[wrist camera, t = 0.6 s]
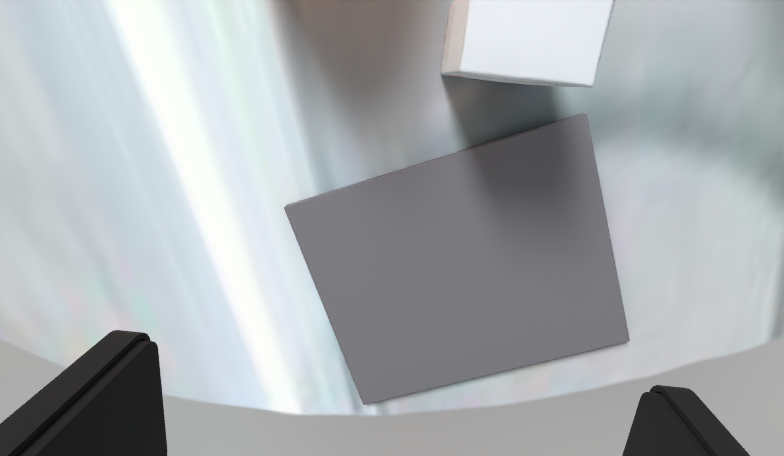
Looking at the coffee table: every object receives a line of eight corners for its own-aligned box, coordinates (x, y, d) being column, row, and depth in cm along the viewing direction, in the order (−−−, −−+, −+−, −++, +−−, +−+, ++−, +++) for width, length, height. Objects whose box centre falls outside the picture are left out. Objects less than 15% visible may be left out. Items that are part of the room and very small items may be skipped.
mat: (582, 113, 31) (586, 114, 30) (625, 335, 36) (629, 340, 35) (286, 204, 34) (283, 207, 33) (364, 398, 39) (363, 404, 38)
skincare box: (439, 76, 31) (454, 73, 19) (448, 7, 30) (470, -39, 18) (528, 87, 31) (595, 89, 19) (541, 18, 29) (622, -22, 18)
